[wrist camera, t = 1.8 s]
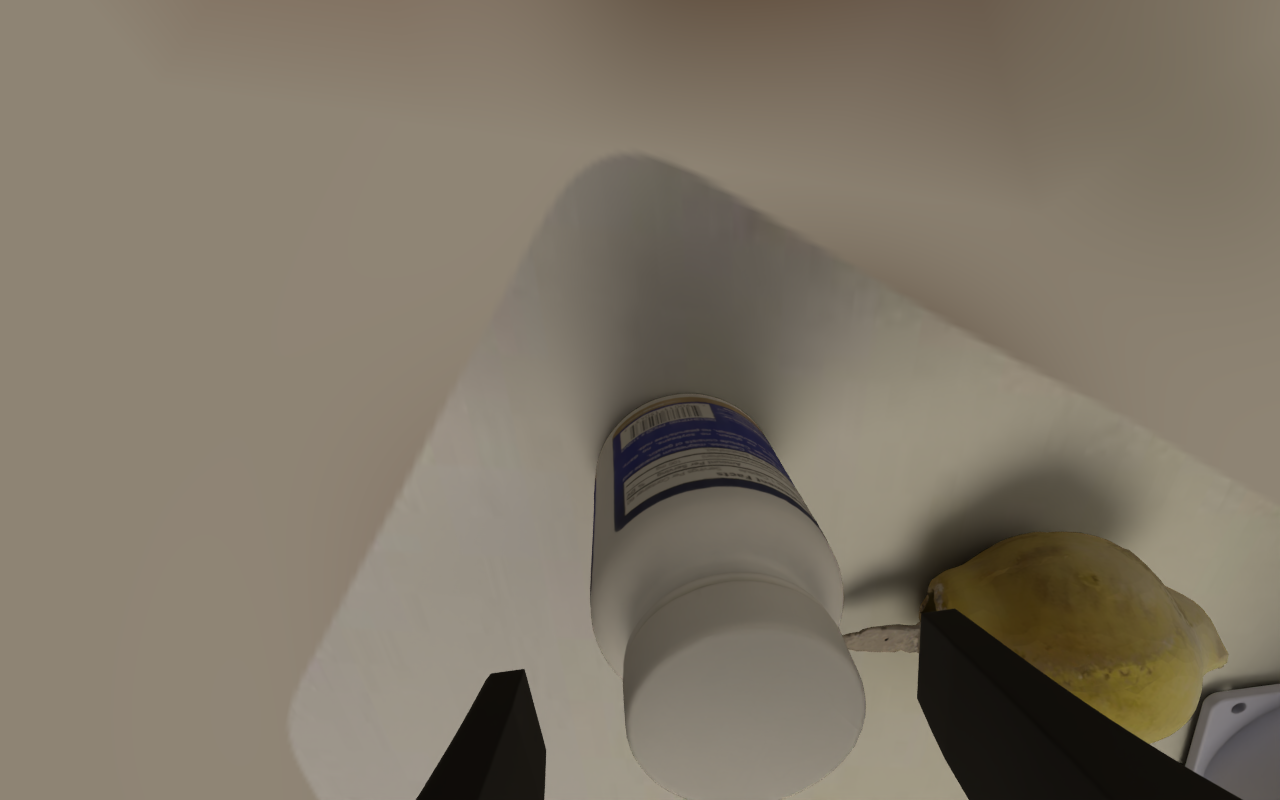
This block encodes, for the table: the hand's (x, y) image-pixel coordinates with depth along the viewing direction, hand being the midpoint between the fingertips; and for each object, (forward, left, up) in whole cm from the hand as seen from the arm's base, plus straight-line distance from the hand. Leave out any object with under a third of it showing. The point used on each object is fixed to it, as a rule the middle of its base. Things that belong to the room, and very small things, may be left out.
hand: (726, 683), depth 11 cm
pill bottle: (0, 0, -8) cm, 8 cm away
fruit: (-9, +6, -8) cm, 13 cm away
